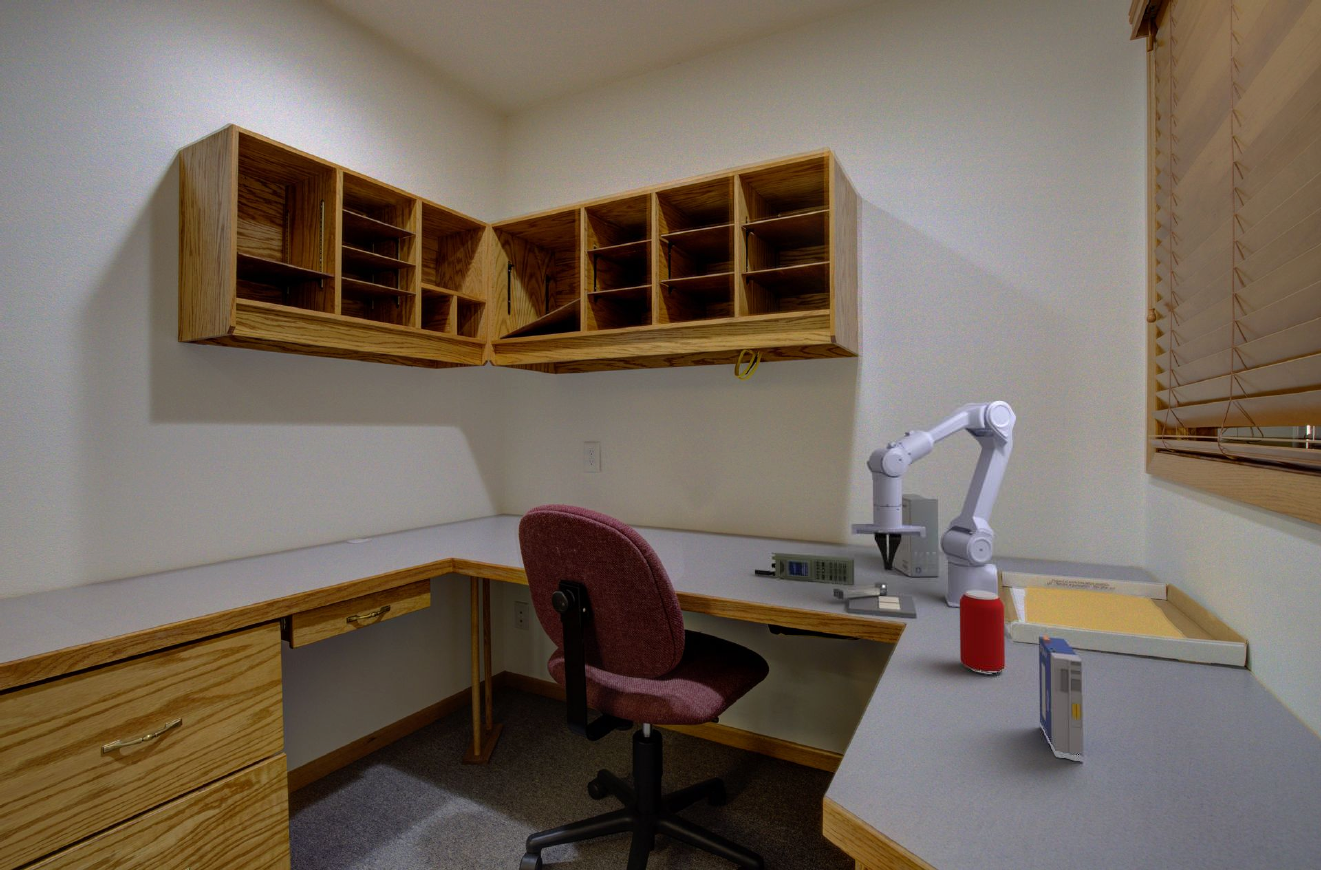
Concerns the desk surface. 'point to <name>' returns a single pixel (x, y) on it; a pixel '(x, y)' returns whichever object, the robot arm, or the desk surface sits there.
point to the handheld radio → (812, 568)
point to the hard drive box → (918, 551)
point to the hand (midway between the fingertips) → (888, 569)
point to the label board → (883, 605)
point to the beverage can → (982, 631)
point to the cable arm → (861, 591)
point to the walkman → (1061, 695)
